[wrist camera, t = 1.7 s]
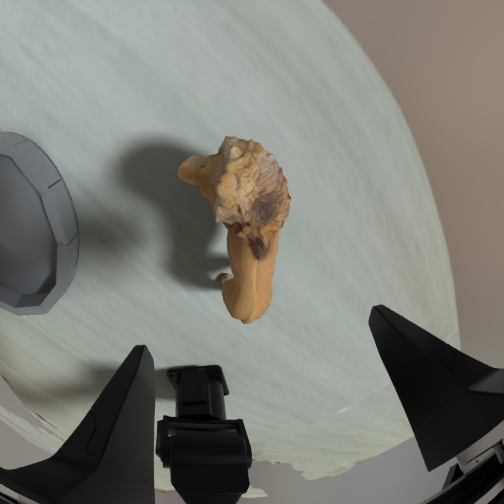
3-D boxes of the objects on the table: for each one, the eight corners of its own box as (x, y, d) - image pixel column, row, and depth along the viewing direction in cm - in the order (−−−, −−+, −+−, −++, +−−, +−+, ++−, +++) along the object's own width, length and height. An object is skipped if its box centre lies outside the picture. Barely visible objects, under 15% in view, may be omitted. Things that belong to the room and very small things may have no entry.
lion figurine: (184, 134, 17) (163, 159, 9) (262, 120, 17) (305, 134, 10) (224, 301, 25) (234, 386, 17) (282, 290, 25) (311, 369, 17)
